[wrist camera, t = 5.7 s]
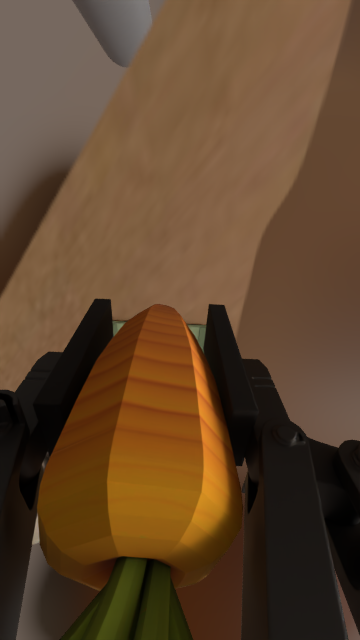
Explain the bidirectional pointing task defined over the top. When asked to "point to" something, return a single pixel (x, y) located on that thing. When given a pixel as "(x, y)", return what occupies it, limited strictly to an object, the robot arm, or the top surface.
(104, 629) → the carrot
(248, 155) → the top surface
